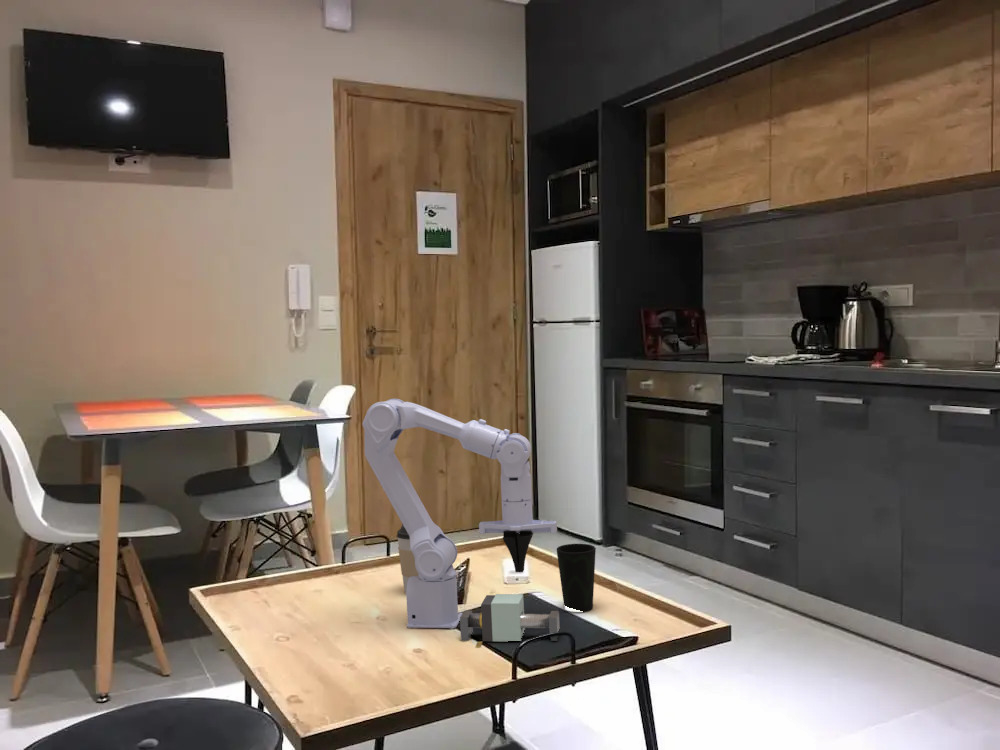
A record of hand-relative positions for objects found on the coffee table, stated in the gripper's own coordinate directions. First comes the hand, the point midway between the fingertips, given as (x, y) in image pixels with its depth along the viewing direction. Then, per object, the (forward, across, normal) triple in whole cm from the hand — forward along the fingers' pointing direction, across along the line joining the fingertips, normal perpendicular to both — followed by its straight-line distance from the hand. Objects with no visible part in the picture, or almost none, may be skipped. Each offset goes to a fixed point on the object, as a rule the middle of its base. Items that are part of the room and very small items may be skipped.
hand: (519, 570), depth 163 cm
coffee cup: (+10, -25, +20) cm, 34 cm away
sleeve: (+10, -1, -8) cm, 13 cm away
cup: (+10, +10, +9) cm, 17 cm away
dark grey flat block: (+10, -5, -8) cm, 14 cm away
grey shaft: (+10, -1, -10) cm, 14 cm away
